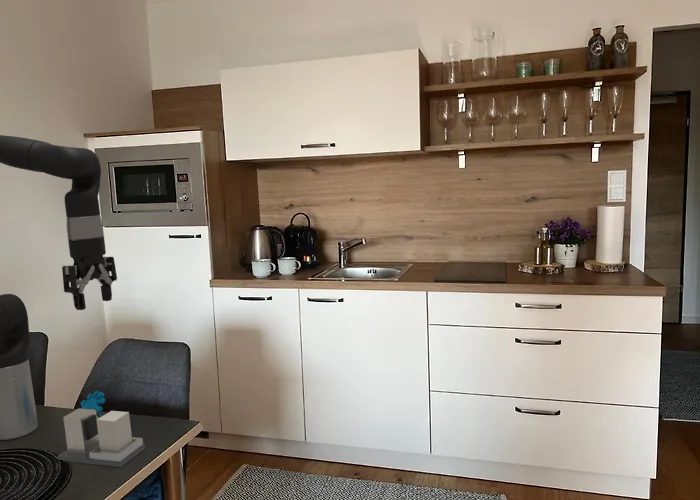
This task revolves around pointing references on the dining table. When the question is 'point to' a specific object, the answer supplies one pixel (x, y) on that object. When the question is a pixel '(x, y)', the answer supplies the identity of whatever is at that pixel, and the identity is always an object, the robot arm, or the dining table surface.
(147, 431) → the dining table surface
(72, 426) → the base with upright block
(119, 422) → the block
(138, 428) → the dining table surface
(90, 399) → the blue spiky virus toy
